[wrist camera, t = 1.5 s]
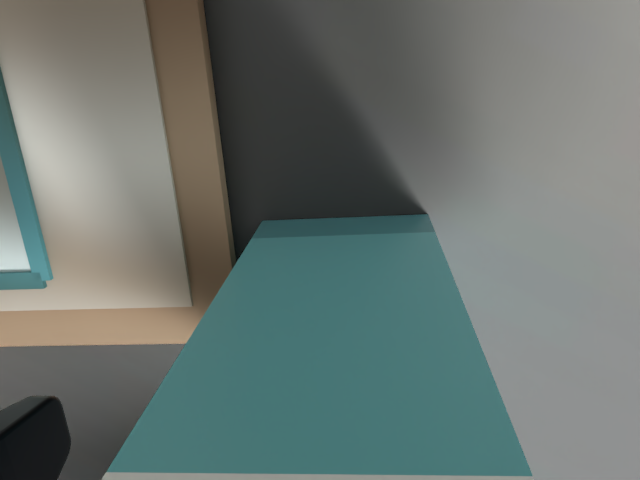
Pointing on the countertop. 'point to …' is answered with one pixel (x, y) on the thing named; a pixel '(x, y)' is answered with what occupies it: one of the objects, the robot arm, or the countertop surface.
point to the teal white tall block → (330, 368)
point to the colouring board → (108, 173)
